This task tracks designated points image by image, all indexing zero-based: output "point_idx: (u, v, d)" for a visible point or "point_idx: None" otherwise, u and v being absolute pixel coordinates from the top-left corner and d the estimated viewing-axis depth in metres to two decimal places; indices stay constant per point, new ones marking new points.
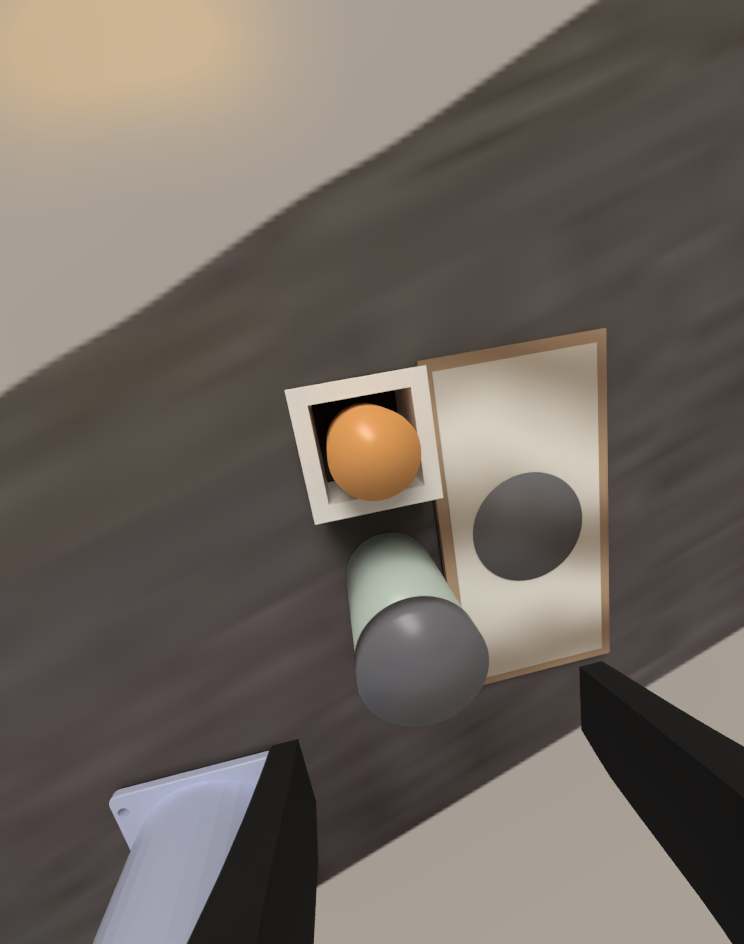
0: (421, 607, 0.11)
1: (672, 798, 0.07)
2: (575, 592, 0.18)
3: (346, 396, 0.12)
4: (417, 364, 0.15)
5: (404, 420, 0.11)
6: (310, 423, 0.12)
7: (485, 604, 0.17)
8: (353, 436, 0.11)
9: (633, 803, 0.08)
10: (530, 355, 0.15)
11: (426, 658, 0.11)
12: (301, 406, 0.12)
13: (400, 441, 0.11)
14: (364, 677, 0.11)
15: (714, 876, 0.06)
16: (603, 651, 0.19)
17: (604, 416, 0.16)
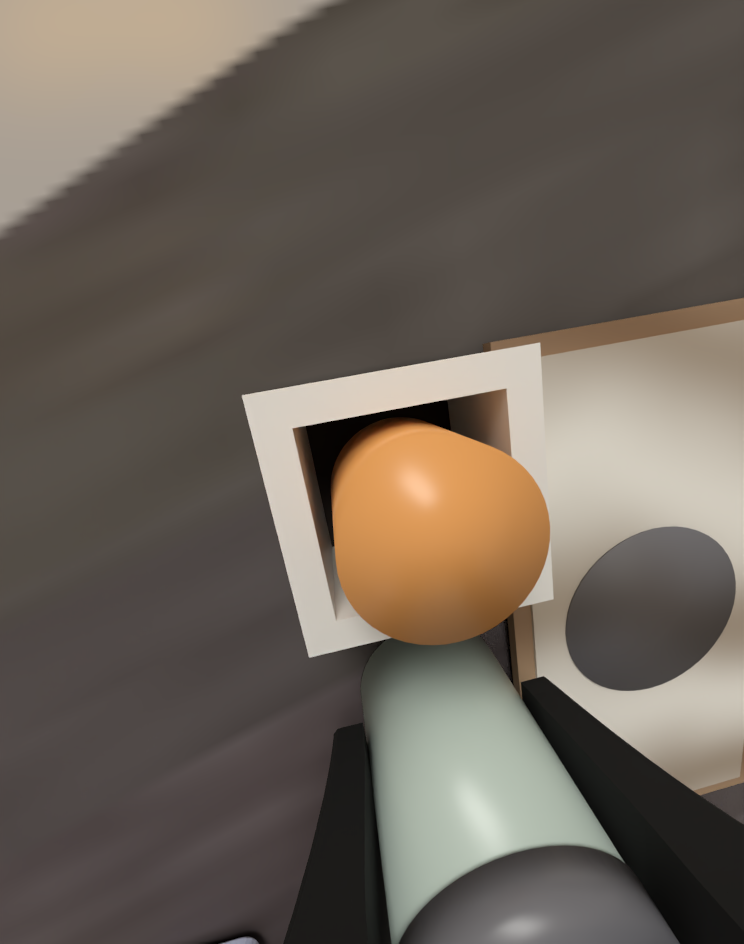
0: (554, 902, 0.05)
1: None
2: (710, 702, 0.12)
3: (374, 408, 0.06)
4: (489, 348, 0.08)
5: (517, 468, 0.05)
6: (298, 464, 0.06)
7: None
8: (398, 507, 0.04)
9: None
10: (679, 333, 0.09)
11: None
12: (278, 429, 0.06)
13: (505, 517, 0.05)
14: None
15: None
16: (740, 779, 0.13)
17: None
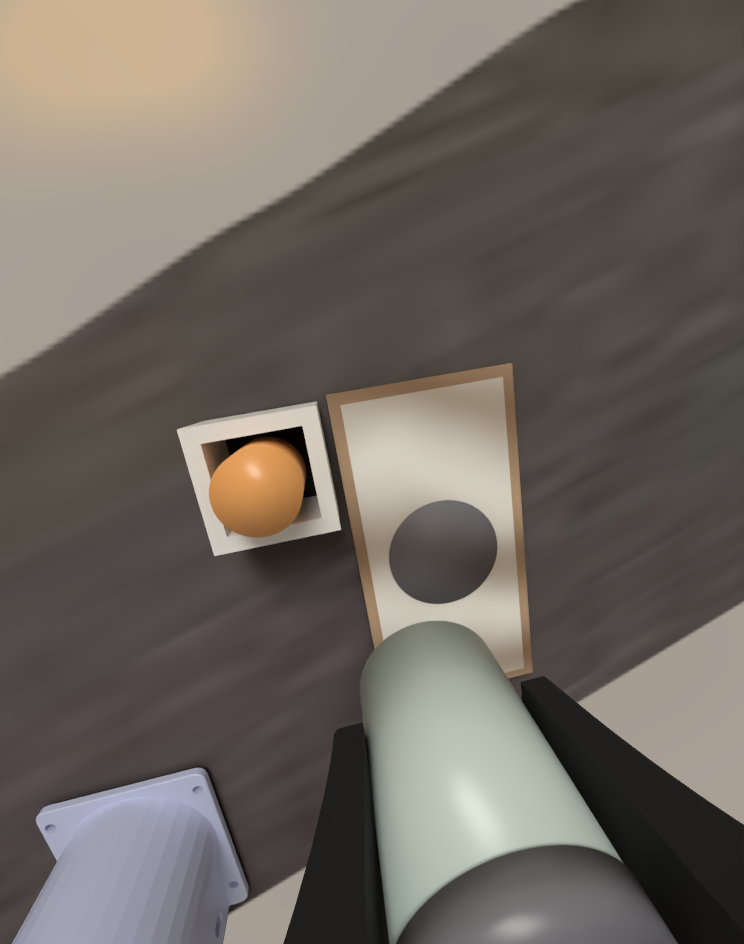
0: (552, 901, 0.05)
1: (597, 820, 0.07)
2: (494, 614, 0.18)
3: (238, 435, 0.12)
4: (326, 398, 0.15)
5: (283, 462, 0.11)
6: (204, 460, 0.12)
7: (405, 626, 0.18)
8: (233, 477, 0.11)
9: None
10: (437, 389, 0.16)
11: None
12: (195, 444, 0.12)
13: (280, 482, 0.11)
14: None
15: None
16: (526, 671, 0.20)
17: (514, 446, 0.17)
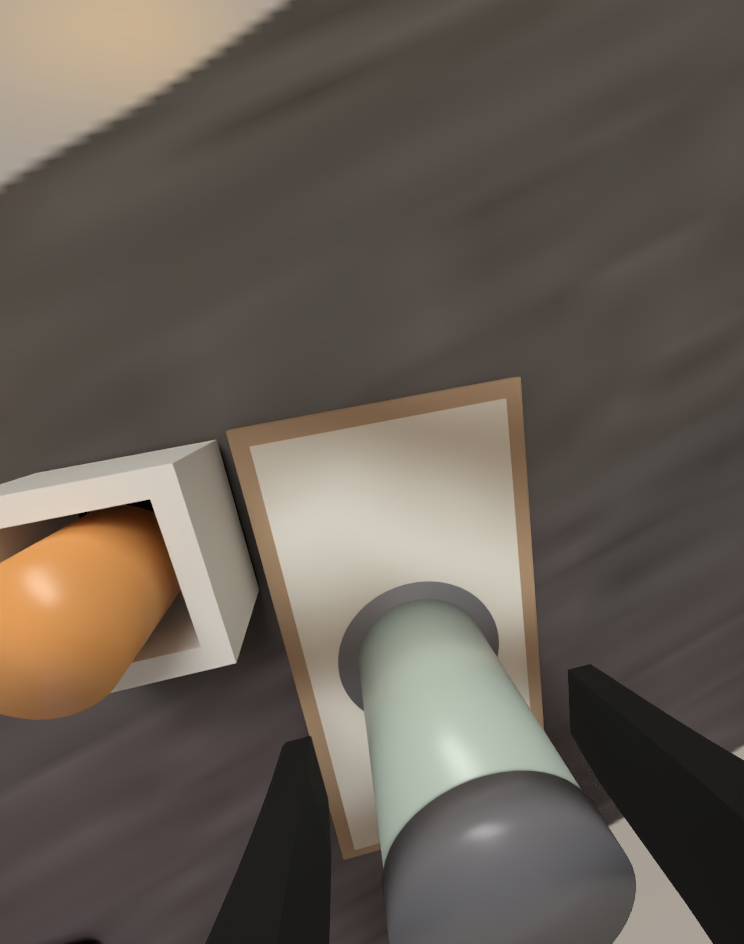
0: (515, 809, 0.06)
1: (657, 802, 0.07)
2: None
3: (33, 518, 0.07)
4: (228, 435, 0.10)
5: (81, 585, 0.06)
6: None
7: (366, 754, 0.12)
8: None
9: (620, 807, 0.08)
10: (404, 418, 0.10)
11: (523, 903, 0.06)
12: None
13: (79, 622, 0.06)
14: None
15: (698, 881, 0.06)
16: None
17: (524, 501, 0.11)
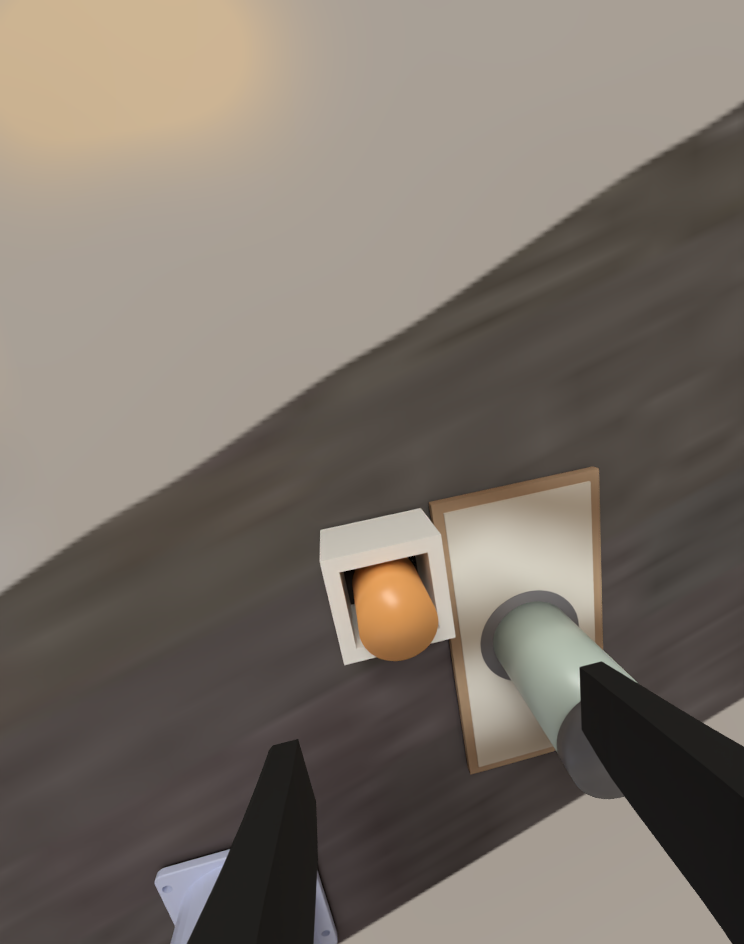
0: None
1: (672, 798, 0.07)
2: None
3: (372, 562, 0.14)
4: (431, 507, 0.16)
5: (424, 597, 0.13)
6: (341, 586, 0.14)
7: (492, 701, 0.19)
8: (381, 612, 0.13)
9: (633, 803, 0.08)
10: (530, 494, 0.17)
11: None
12: (333, 571, 0.14)
13: (420, 614, 0.13)
14: (577, 759, 0.12)
15: (714, 876, 0.06)
16: None
17: (598, 540, 0.18)
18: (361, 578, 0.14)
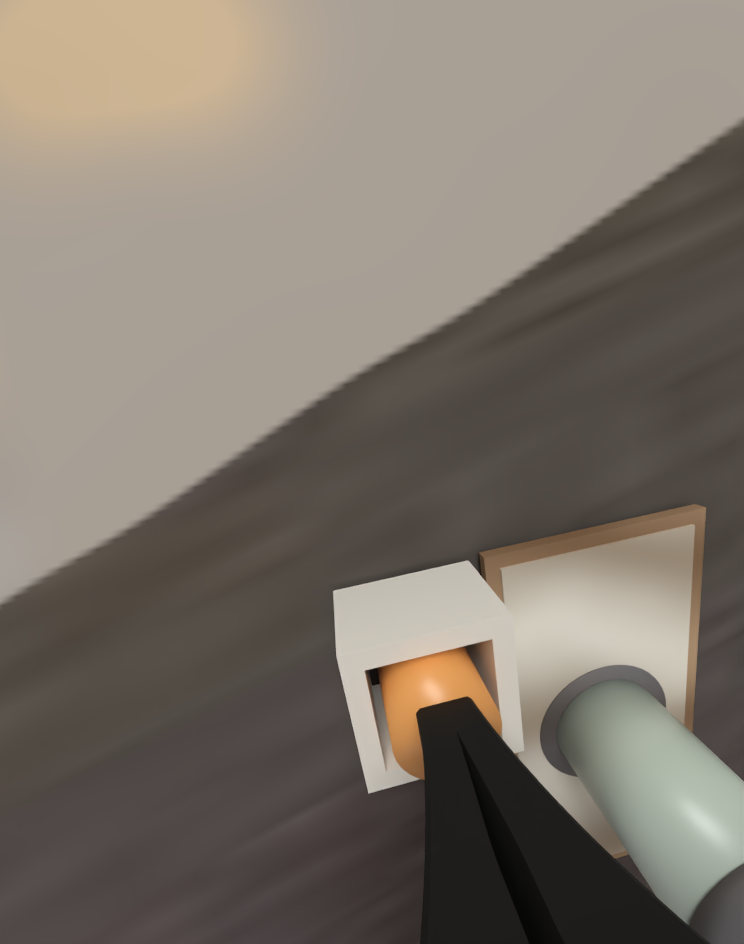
0: None
1: (497, 849, 0.07)
2: None
3: (412, 655, 0.09)
4: (483, 560, 0.12)
5: (484, 697, 0.09)
6: (367, 688, 0.09)
7: None
8: None
9: None
10: (616, 542, 0.13)
11: None
12: (355, 667, 0.10)
13: None
14: None
15: (525, 935, 0.06)
16: None
17: (697, 600, 0.14)
18: None
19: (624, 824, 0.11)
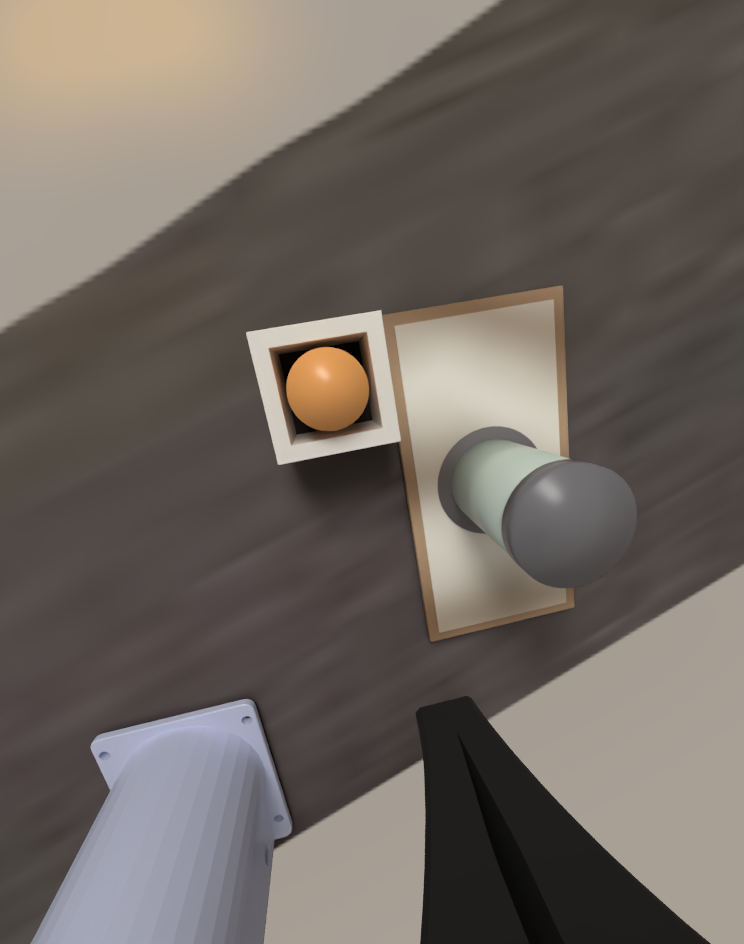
0: (577, 463, 0.11)
1: (497, 850, 0.07)
2: None
3: (305, 339, 0.13)
4: None
5: (353, 359, 0.12)
6: (271, 365, 0.13)
7: (452, 556, 0.18)
8: (308, 372, 0.12)
9: None
10: (489, 311, 0.16)
11: (579, 514, 0.11)
12: (262, 349, 0.13)
13: (350, 378, 0.13)
14: (521, 529, 0.11)
15: (525, 936, 0.06)
16: (568, 606, 0.20)
17: (563, 372, 0.17)
18: None
19: (478, 500, 0.14)
